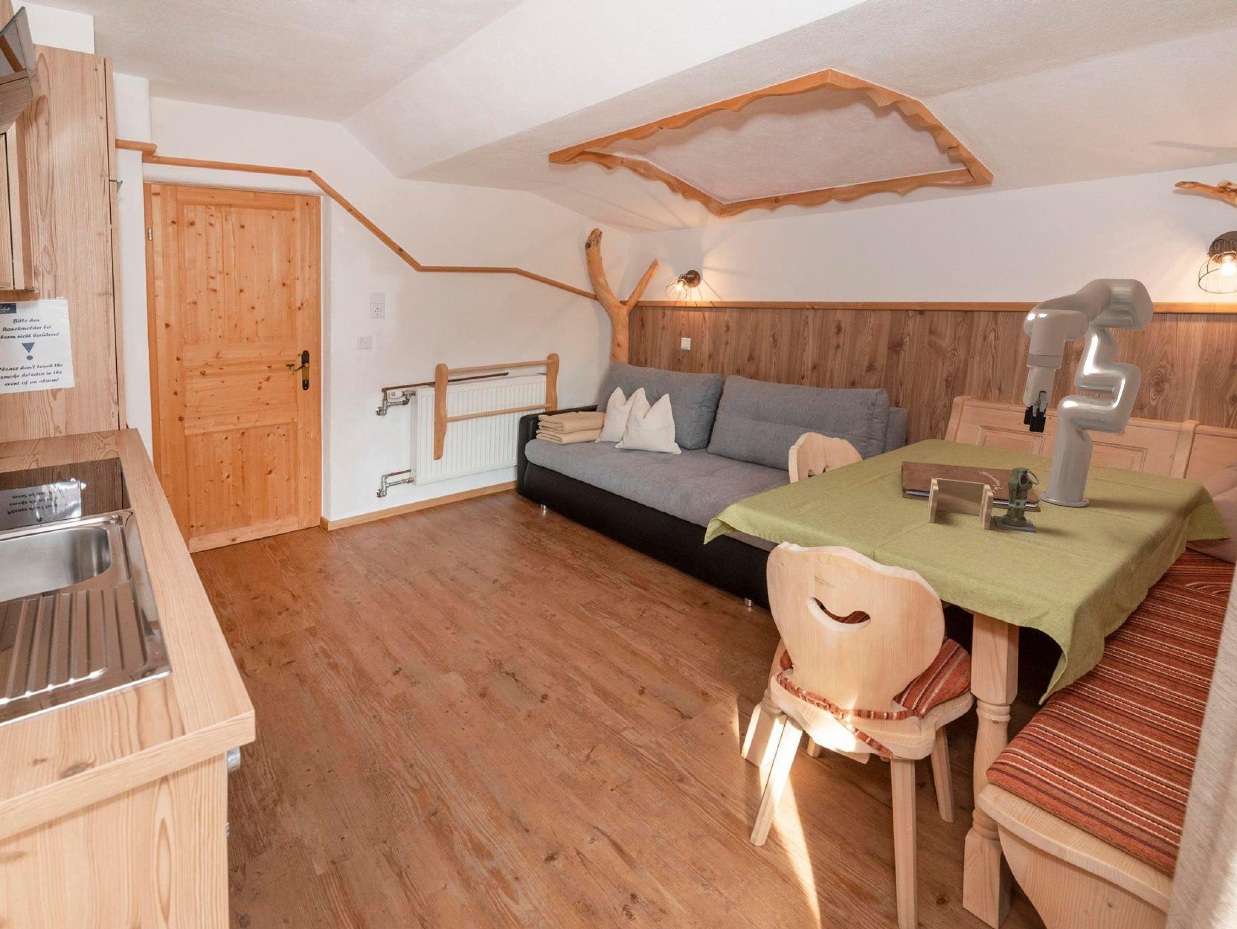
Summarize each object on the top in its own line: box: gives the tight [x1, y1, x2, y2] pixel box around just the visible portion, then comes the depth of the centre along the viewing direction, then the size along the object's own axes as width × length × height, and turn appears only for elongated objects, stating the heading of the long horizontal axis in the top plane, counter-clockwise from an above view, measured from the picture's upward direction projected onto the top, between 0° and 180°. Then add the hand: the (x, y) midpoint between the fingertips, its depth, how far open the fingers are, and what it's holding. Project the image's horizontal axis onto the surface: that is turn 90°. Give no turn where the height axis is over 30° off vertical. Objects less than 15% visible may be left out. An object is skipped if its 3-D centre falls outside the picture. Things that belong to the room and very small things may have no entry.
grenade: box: [1002, 466, 1040, 526], centre depth 191 cm, size 7×7×15 cm
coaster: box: [993, 515, 1037, 534], centre depth 194 cm, size 9×9×1 cm
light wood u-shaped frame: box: [927, 477, 995, 531], centre depth 198 cm, size 13×14×9 cm
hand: (1033, 428), depth 188 cm, fingers open, 9 cm apart
